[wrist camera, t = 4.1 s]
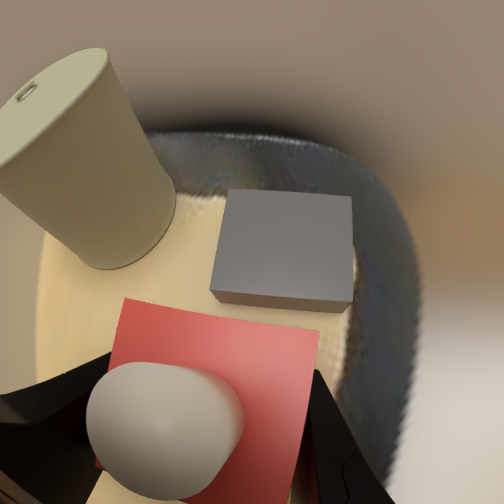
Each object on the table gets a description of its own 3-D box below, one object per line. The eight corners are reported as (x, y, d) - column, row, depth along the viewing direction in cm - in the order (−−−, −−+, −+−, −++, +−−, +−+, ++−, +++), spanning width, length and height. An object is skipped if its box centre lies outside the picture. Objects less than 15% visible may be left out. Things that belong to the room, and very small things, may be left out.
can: (133, 149, 23) (72, 39, 12) (202, 198, 20) (139, 43, 9) (58, 225, 21) (-34, 137, 10) (109, 296, 17) (-32, 202, 7)
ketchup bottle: (282, 441, 13) (278, 578, 2) (193, 423, 14) (34, 483, 3) (297, 355, 15) (339, 306, 4) (208, 340, 16) (67, 262, 5)
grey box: (340, 314, 16) (352, 301, 13) (221, 303, 17) (209, 289, 14) (342, 222, 18) (351, 197, 16) (236, 215, 19) (228, 188, 17)
